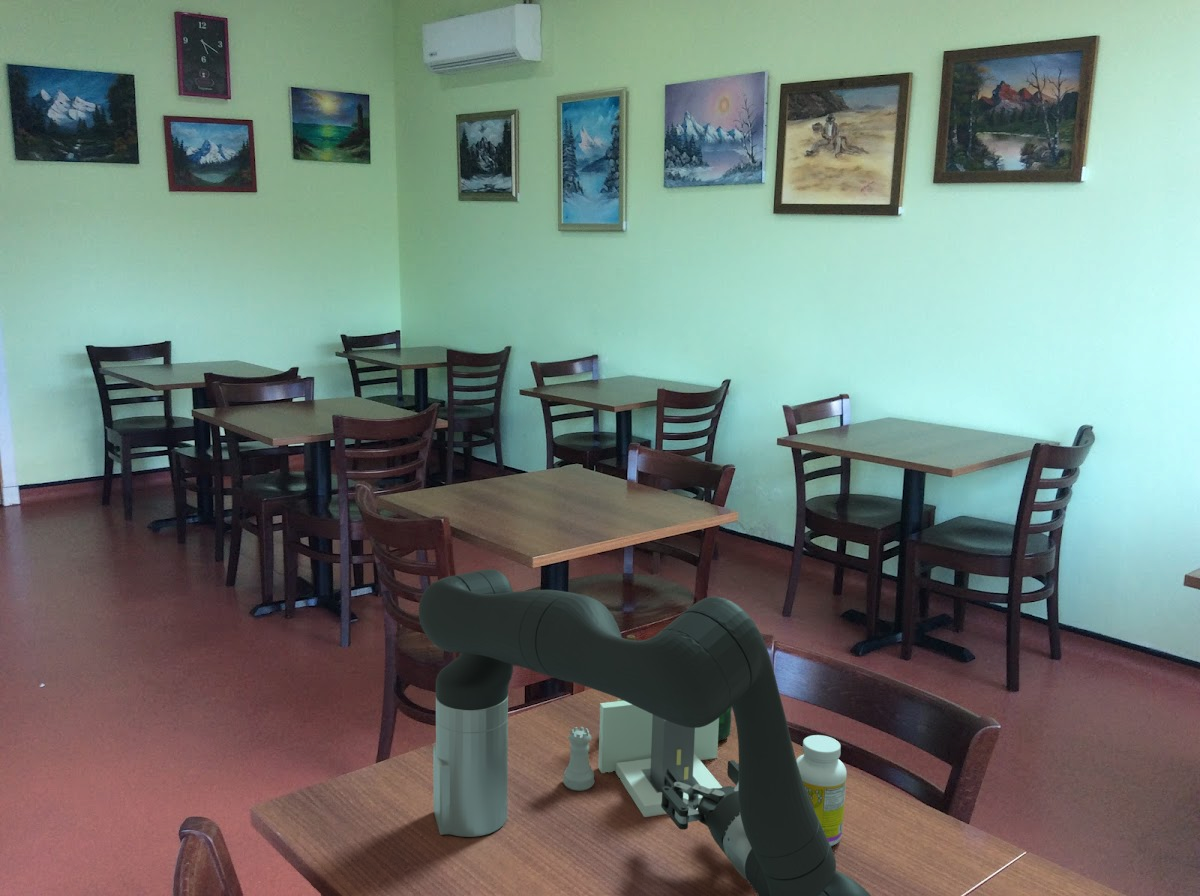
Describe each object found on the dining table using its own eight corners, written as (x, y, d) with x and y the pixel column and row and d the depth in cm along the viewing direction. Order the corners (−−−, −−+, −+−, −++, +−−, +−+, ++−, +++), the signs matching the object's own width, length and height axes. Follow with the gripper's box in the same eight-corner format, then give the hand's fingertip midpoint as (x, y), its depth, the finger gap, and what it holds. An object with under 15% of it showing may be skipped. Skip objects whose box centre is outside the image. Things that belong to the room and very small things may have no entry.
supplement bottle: (778, 827, 130) (784, 735, 128) (821, 817, 133) (827, 727, 130) (808, 855, 124) (815, 759, 122) (852, 844, 127) (859, 750, 124)
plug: (662, 796, 136) (665, 705, 134) (650, 780, 140) (653, 690, 138) (692, 792, 137) (696, 701, 135) (679, 775, 142) (683, 687, 139)
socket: (629, 819, 131) (632, 748, 129) (598, 767, 144) (600, 703, 142) (754, 800, 136) (758, 732, 135) (712, 753, 150) (715, 690, 148)
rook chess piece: (557, 788, 138) (558, 734, 137) (570, 773, 143) (571, 721, 141) (587, 795, 137) (588, 740, 135) (599, 780, 141) (600, 727, 139)
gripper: (812, 800, 115) (750, 737, 130) (698, 817, 111) (648, 750, 126) (808, 859, 116) (748, 790, 132) (696, 879, 112) (646, 805, 127)
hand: (699, 771), depth 129 cm, fingers open, 8 cm apart
